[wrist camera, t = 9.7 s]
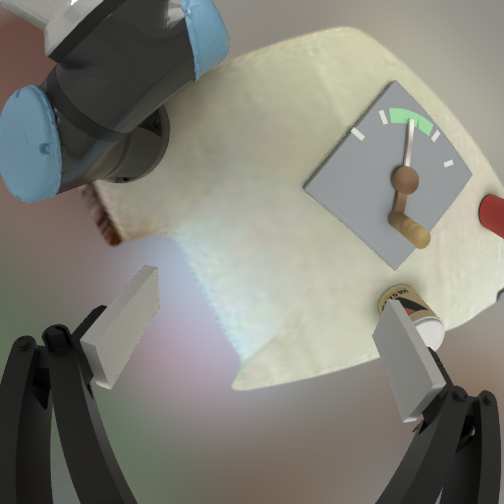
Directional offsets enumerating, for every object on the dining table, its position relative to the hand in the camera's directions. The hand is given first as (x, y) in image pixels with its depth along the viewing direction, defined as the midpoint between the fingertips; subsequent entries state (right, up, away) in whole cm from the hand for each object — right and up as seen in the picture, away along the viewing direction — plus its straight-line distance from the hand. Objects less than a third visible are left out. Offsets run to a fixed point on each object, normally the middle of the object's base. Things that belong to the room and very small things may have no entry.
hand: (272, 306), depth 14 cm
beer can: (+43, +11, +21) cm, 49 cm away
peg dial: (+21, +13, +19) cm, 31 cm away
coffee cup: (+25, -6, +30) cm, 40 cm away
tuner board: (+21, +14, +21) cm, 33 cm away
